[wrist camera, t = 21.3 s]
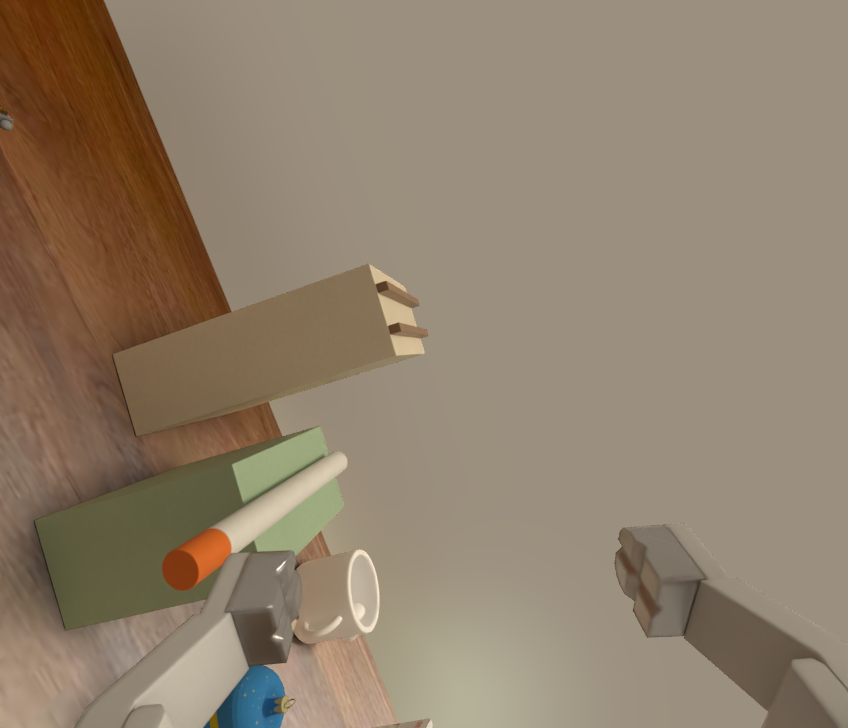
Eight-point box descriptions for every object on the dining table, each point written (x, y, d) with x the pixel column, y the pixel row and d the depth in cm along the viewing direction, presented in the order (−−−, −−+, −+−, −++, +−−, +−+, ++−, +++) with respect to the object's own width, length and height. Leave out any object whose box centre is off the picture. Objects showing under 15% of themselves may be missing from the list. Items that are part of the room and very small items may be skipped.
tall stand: (111, 354, 40) (380, 259, 36) (210, 352, 54) (413, 283, 49) (135, 436, 40) (408, 352, 36) (228, 413, 54) (433, 351, 49)
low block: (33, 520, 30) (232, 464, 28) (179, 466, 44) (320, 425, 41) (65, 631, 30) (267, 585, 27) (201, 542, 44) (344, 506, 41)
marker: (153, 569, 21) (177, 540, 20) (322, 461, 40) (336, 446, 40) (181, 600, 20) (207, 571, 20) (338, 477, 40) (351, 461, 40)
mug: (291, 686, 51) (363, 673, 49) (262, 606, 50) (334, 591, 48) (328, 614, 62) (387, 602, 61) (305, 549, 62) (364, 535, 60)
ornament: (57, 731, 28) (260, 696, 26) (125, 673, 33) (300, 639, 31) (78, 809, 28) (285, 782, 25) (143, 739, 33) (320, 710, 30)
